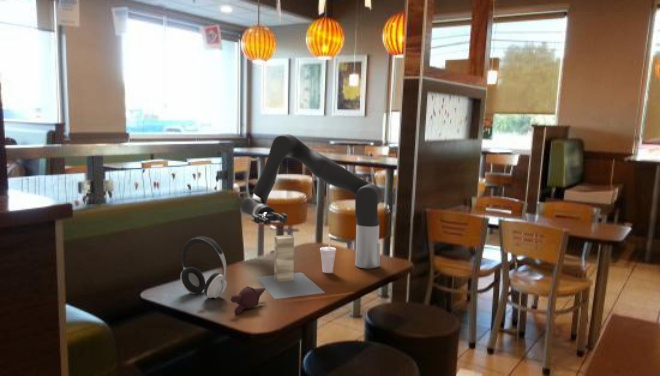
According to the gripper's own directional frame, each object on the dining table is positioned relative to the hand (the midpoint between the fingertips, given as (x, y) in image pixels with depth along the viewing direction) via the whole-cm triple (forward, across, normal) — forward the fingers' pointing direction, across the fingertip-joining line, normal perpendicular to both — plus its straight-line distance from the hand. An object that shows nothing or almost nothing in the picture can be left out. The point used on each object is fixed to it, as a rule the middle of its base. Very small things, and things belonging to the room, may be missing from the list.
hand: (275, 221), depth 187 cm
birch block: (+11, 0, +19) cm, 22 cm away
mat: (+16, 0, +20) cm, 26 cm away
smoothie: (+7, +19, +20) cm, 29 cm away
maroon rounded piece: (+31, -18, +20) cm, 41 cm away
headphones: (+16, -30, +20) cm, 39 cm away
